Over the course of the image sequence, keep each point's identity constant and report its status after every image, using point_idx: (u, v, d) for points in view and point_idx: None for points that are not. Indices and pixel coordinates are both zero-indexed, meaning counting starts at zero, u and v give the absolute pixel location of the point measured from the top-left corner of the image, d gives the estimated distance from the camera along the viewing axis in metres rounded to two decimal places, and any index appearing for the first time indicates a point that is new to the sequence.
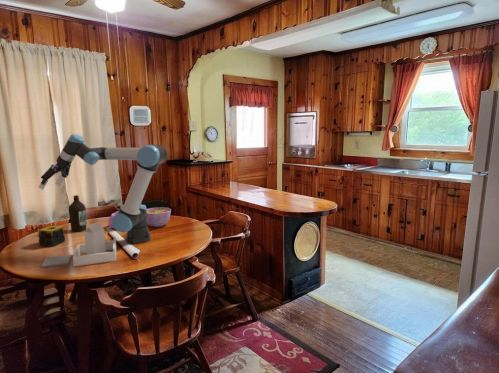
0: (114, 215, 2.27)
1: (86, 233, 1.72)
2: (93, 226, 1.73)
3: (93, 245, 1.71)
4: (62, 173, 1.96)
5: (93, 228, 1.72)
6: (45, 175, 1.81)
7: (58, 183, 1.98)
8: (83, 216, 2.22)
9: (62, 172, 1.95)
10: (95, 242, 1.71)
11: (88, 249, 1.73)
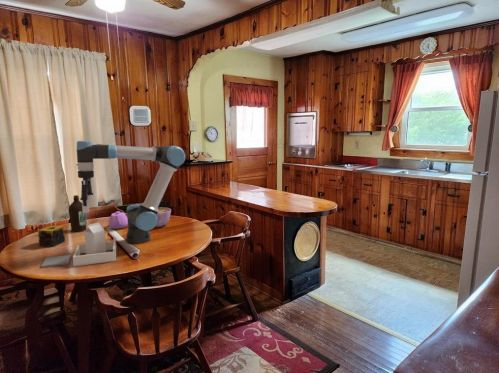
0: (114, 215, 2.27)
1: (86, 233, 1.72)
2: (93, 226, 1.73)
3: (93, 245, 1.71)
4: (88, 191, 1.76)
5: (93, 228, 1.72)
6: (84, 194, 1.63)
7: (90, 204, 1.78)
8: (83, 216, 2.22)
9: (88, 189, 1.75)
10: (95, 242, 1.71)
11: (88, 249, 1.73)
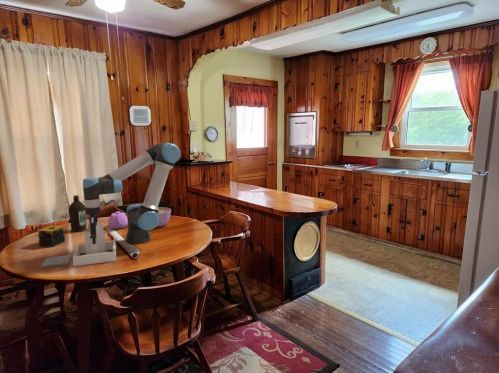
0: (114, 215, 2.27)
1: (86, 233, 1.72)
2: None
3: None
4: None
5: None
6: (93, 232, 1.67)
7: None
8: (83, 216, 2.22)
9: None
10: None
11: (88, 249, 1.73)
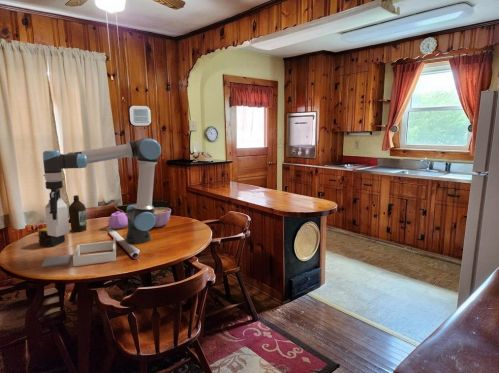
0: (114, 215, 2.27)
1: (47, 209, 1.63)
2: None
3: None
4: None
5: None
6: (53, 207, 1.58)
7: None
8: (83, 216, 2.22)
9: None
10: None
11: (49, 226, 1.64)
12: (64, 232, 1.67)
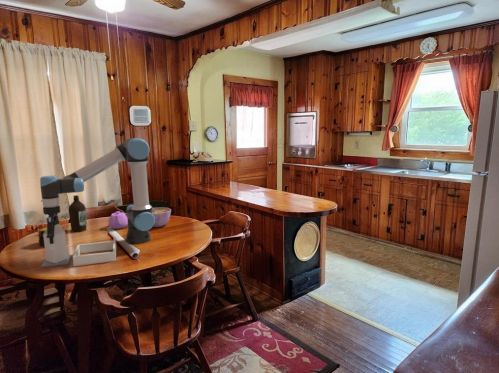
0: (114, 215, 2.27)
1: (45, 235, 1.65)
2: None
3: None
4: None
5: None
6: (50, 232, 1.58)
7: None
8: (83, 216, 2.22)
9: (55, 224, 1.71)
10: None
11: (47, 252, 1.66)
12: (63, 258, 1.69)
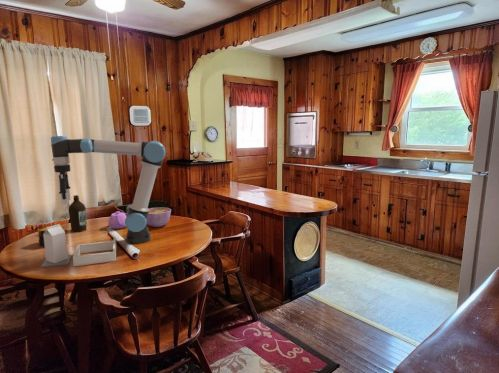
0: (114, 215, 2.27)
1: (45, 235, 1.65)
2: (52, 228, 1.66)
3: (52, 248, 1.64)
4: (65, 185, 1.81)
5: (52, 230, 1.65)
6: (62, 187, 1.68)
7: (68, 198, 1.83)
8: (83, 216, 2.22)
9: (65, 183, 1.80)
10: (54, 245, 1.64)
11: (47, 252, 1.66)
12: (63, 258, 1.69)
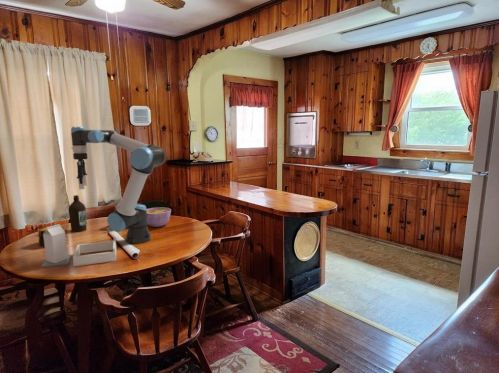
0: None
1: (45, 235, 1.65)
2: (52, 228, 1.66)
3: (52, 248, 1.64)
4: (82, 172, 2.00)
5: (52, 230, 1.65)
6: (80, 173, 1.86)
7: (84, 183, 2.02)
8: (83, 216, 2.22)
9: (82, 170, 1.99)
10: (54, 245, 1.64)
11: (47, 252, 1.66)
12: (63, 258, 1.69)
